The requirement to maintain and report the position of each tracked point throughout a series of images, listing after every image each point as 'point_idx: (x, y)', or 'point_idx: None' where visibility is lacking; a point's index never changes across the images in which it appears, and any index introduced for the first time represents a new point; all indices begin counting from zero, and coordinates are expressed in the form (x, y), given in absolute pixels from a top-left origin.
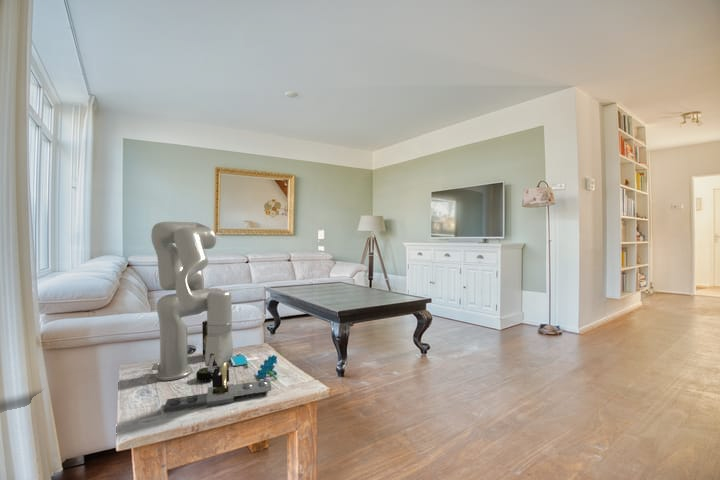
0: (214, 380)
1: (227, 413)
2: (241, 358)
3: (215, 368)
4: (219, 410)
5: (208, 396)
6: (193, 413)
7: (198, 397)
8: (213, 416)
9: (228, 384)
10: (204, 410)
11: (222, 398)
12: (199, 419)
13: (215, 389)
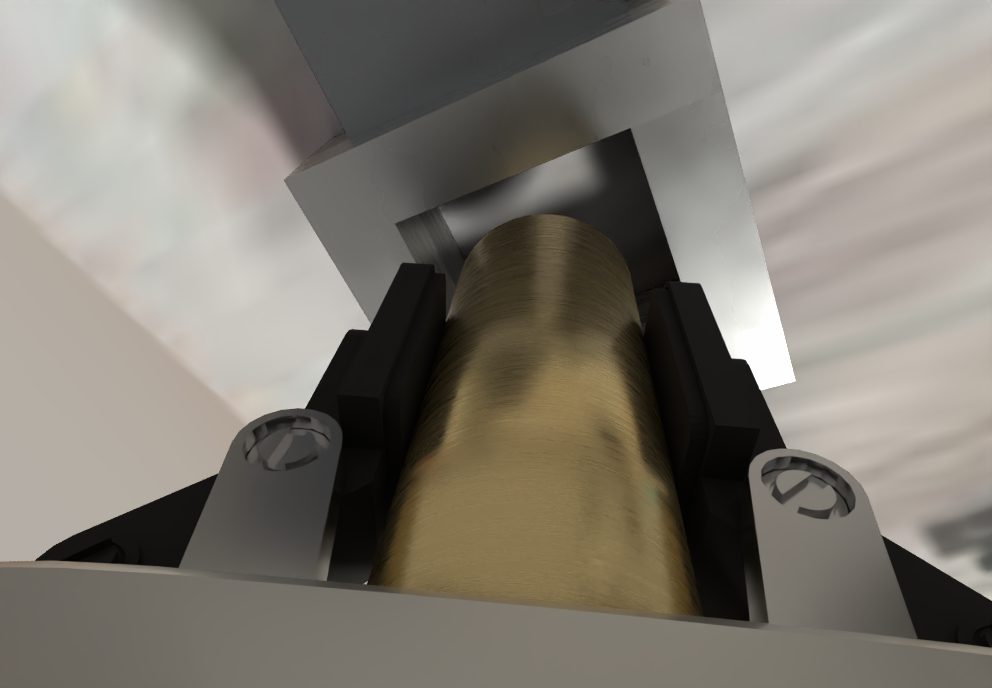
0: (328, 392)
1: (249, 415)
2: None
3: (388, 559)
4: (285, 324)
5: (320, 195)
6: (137, 42)
7: None
8: (159, 315)
9: (776, 320)
10: (245, 154)
11: None
12: (54, 199)
13: (487, 248)
